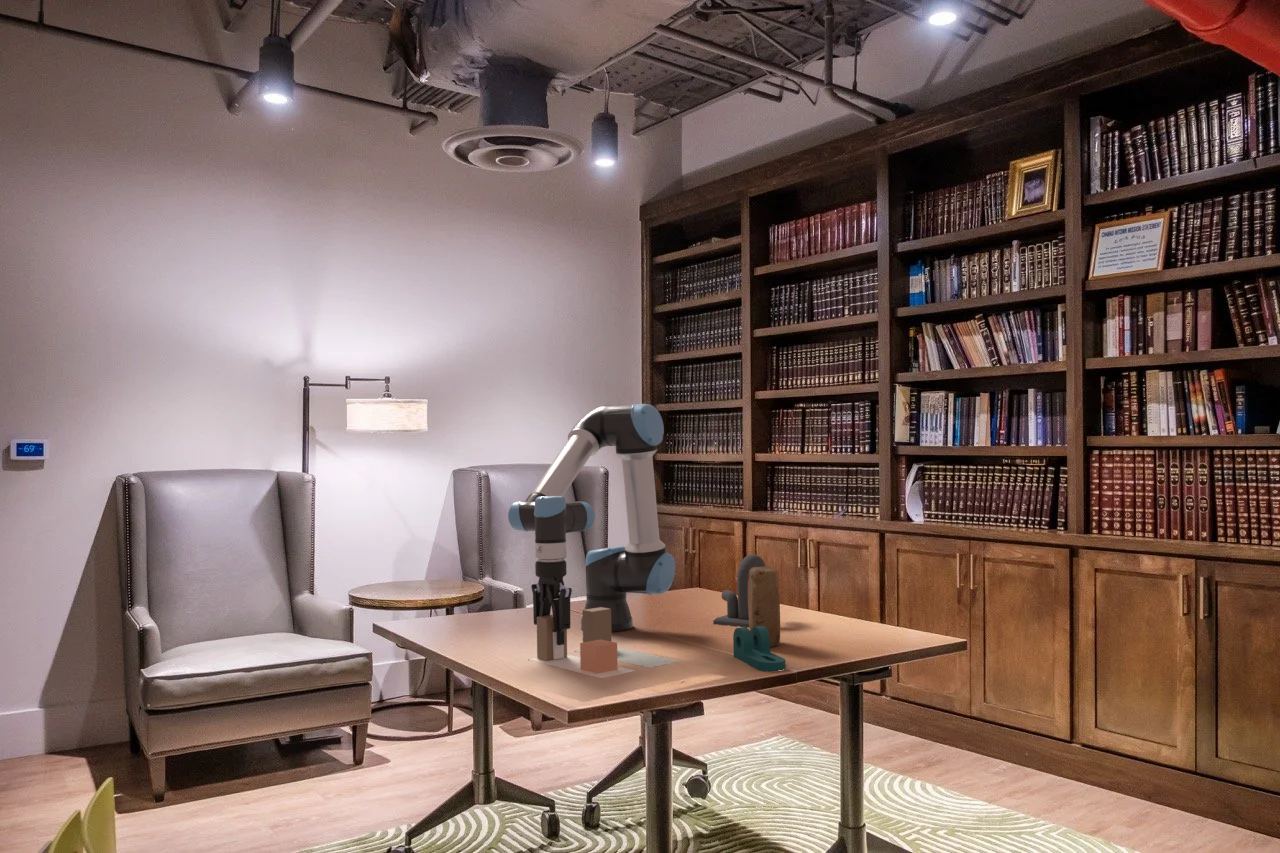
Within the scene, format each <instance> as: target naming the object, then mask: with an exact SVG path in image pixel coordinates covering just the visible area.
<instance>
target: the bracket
mask: <svg viewBox="0 0 1280 853" xmlns="http://www.w3.org/2000/svg"><path fill="white" fill-rule="evenodd" d="M732 642H733V643H732V644H733V658H734V659H737V660H738V661H740V662H742V663H744V664H746V665H748V666H750V667H752V668H754V669H755V668H756V669H755V670H757V671H760V672H766V671H778V670H783V669H785V668H786V669H787V665H786V663H787V662H786V661H787V660H786V658H784V657H782V656H781V655H778V654H776V653H773V652H771V647H770V638H769V633H768V631H767V629H766V627H764V626H757V627H753V628H752V629H751V632H750V628H747V627H736V628H735V629H734V632H733V641H732ZM786 669H785V670H786ZM783 671H784V670H783ZM778 672H779V671H778Z"/></svg>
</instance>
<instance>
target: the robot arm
mask: <svg viewBox="0 0 1280 853" xmlns="http://www.w3.org/2000/svg"><path fill="white" fill-rule="evenodd" d="M662 418H663V417H662V416H661V414H660V412H659V410H657V408H656V407H655V406H653V405H651V404H649V403H627V404H616V405H615V404H613V405H611V404H607V405H602V406H598V407H596V408H594V409H593V410H591V411H590V412H588V413H587V414H586V415H584V416H583V417H581V419H580V420H579V421H577V423H576V424H575V425H574V426H573V427H572V429H571V430H570V431H569V433H568V435H567V441H566V443H565V444H564V446H563V447H562V449H561V450H560V452H559V453H558V454H557V456H556V457H555V458H554V460H553V461H552V463H551V464H550V465H549V467H548V468H547V470H546V471H545V472H544V474H543V475H542V477H541V478H540V479H539V481H538V482H537V483H536V485H535V486H534V488H533V489H532V491H531V492H530V493H529V495H528V496H527V497H526V499H525V501H523V500H520V501H515V502H513V503H512V504H511V505H510V507H509V509H508V512H507V520H508V522H509V525H510V526H511V528H512V529H514V530H516V531H522V532H534V534H535V535H534V536H535V538H534V543H535V548H534V551H535V553H534V554H535V559H536V561H535V563H534V564H535V566H534V568H535V570H534V573H535V576H536V577H537V578H538V582H537V583H534V584H531V586H530V587H531V592H532V604H533V606H532V608H533V609H532V610H533V613H532V614H533V624H534V625H535V626H537V617H540V616H546V615H551V612H552V615H553V620H554V627H555V630H552V631H553V659H560V658H564V643H565V642H564V632H565V630H567V631H568V630H569V629H571V595H572V592H573V590H572V588H571V587H566V585H565V582H564V577H565V576H567V561H566V560H565V559H566V558H567V533H576V532H578V533H581V532H583V531H587V530H589V529H590V528H591V527H592V526H593V524H594V522H595V516H596V515H595V510H594V508H593V507H592V505H590V504H589V503H588V502H585V501H570V502H569V501H566V499H565V497H564V496H565V494H566V492H567V491H568V489H569V488H570V487H571V485H572V484H573V482H574V480H575V479H576V478H577V476H578V475H579V474H580V472H581V470H582V469H583V468H584V466H585V465H586V463H587V462H588V460H589V459H590V457H593V456H595V455H596V454H597V453H598V452H599V450H601V449H602V448H605V447H615V455H617V456H618V457H619V458H620V459H621V461H622V462H621V463H622V471H623V472H622V474H623V475H622V476H623V483H624V495H625V496H624V497H625V507H626V520H627V529H628V530H627V531H628V541H629V542H628V544H626V546H623V545H621V546H613V547H605V548H604V547H603V548H599V549H598V548H597V549H593V550H589V551H588V552H587V554H586V557H585V565H584V566H585V583H586V584H585V586H586V588H585V591H586V592H585V593H586V597H585V598H586V602H585V606H584V609H583V610H586V609H592V608H599V607H603V608H609V609H611V633H613V632H619V631H620V632H621V631H627V630H630V629H632V628H633V627H634V626H633V625H634V619H633V616H632V614H631V610H630V607H629V604H628V600H627V593H630V594H640V595H641V594H643V595H648V596H649V595H650V596H651V595H662V594H665V593H667V591H668V590H669V589H670V588H671V586H672V584H673V581H674V578H675V574H676V561H675V558H674V556H673V555H672V554H671V553H669V552H667V548H666V544H665V543H664V542H663V541H662V540H661V539H660V529H659V521H658V520H659V518H658V507H657V494H656V493H657V492H656V483H655V470H654V460H653V456H654V455H655V454H656V452H657V451H658V445H659V444H661V443H662V442H663V438H664V434H665V430H664V429H665V428H664V422H663V419H662ZM580 628H581V630H583V616H582V617H581V619H580Z"/></svg>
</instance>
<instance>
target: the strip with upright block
mask: <svg viewBox="0 0 1280 853" xmlns="http://www.w3.org/2000/svg"><path fill="white" fill-rule="evenodd" d="M582 617H583V629H582V643H583V642H589V641H594V640H600V639H601V640H606V641H611V642H613V641H612V632H611V609H609V608H603V607H599V608H592V609H586V610H584V609H582ZM573 651H574V652H575V653H576V652H578V653H580V649H576V650H575V649H574V650H573ZM617 660H618V662H621V663H625V664H628V665H629V664H630V665H633V666H634V665H635V666H638V667H642V668H647V669H651V668H656V667H660V666H665V665H669V664H670V665H671V664H675V663H680V662H681V660H678V659H672V658H668V657H664V656H658V655H653V654H650V653H644V652H640V651H636V650H631V649H625V648H622V647H617Z"/></svg>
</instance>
